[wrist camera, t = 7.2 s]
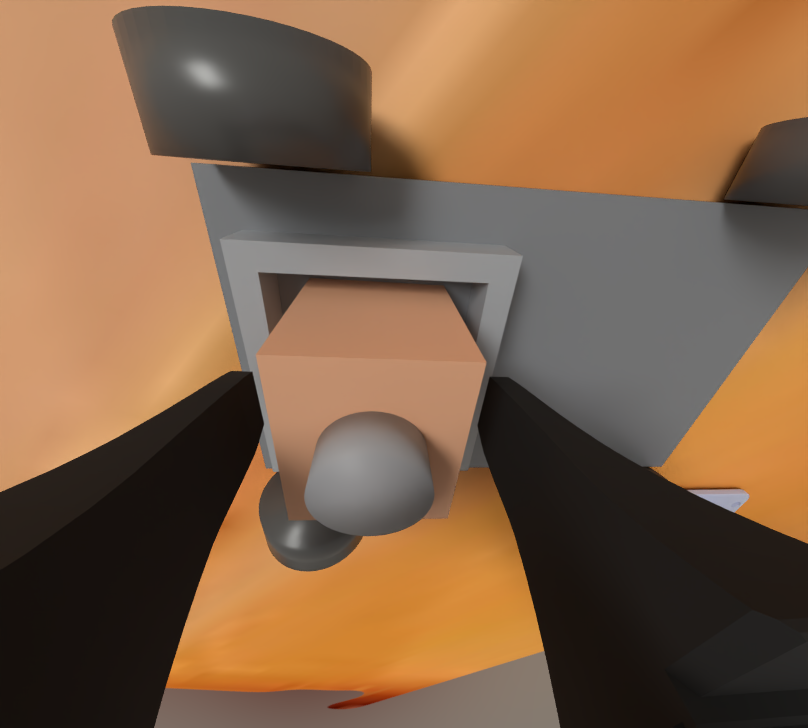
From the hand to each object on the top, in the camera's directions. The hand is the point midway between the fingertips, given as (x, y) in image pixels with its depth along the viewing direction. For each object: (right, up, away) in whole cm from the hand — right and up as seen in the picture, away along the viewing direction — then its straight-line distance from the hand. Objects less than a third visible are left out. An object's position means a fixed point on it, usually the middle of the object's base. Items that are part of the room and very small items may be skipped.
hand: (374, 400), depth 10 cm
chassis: (+5, +2, +3) cm, 6 cm away
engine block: (0, +2, +2) cm, 2 cm away
